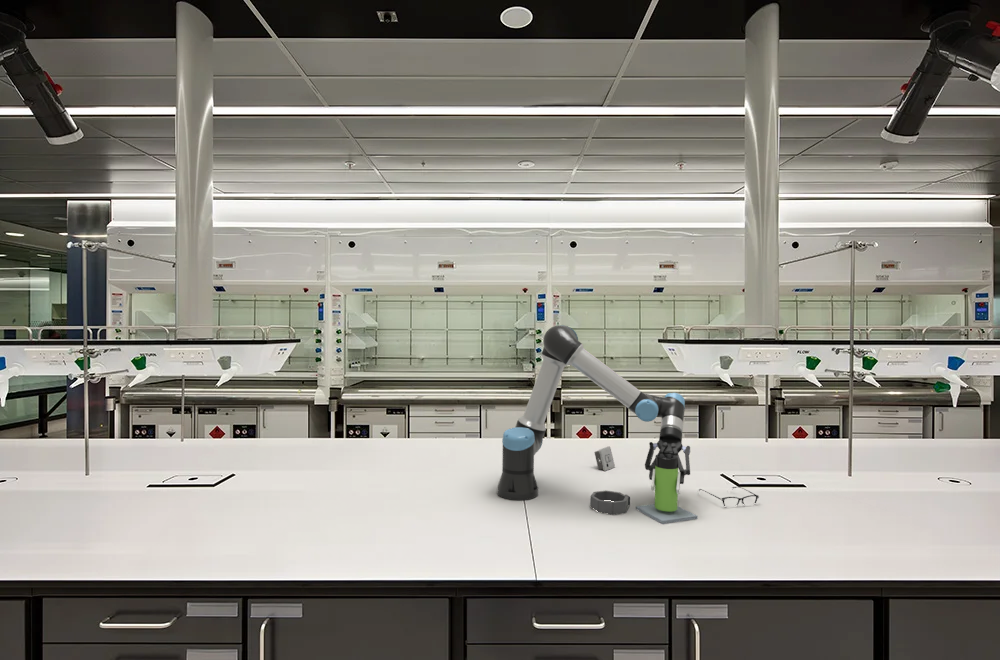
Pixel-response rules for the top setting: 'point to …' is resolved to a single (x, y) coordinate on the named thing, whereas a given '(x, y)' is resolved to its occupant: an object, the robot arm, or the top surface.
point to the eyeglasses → (736, 497)
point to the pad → (666, 514)
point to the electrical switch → (604, 458)
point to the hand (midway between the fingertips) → (665, 489)
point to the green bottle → (666, 482)
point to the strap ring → (609, 502)
